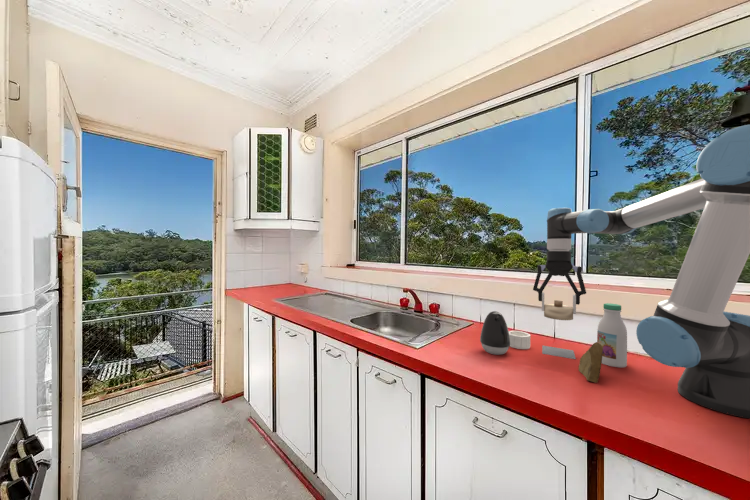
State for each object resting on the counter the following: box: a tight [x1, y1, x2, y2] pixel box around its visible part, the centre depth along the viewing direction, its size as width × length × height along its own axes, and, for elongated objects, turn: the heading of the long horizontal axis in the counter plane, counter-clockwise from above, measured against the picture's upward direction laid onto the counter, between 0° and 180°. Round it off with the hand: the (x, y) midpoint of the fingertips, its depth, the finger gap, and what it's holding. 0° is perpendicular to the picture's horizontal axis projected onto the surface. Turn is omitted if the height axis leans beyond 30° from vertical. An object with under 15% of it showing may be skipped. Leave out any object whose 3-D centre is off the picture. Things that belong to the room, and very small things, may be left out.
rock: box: [578, 341, 603, 384], centre depth 86 cm, size 11×9×10 cm
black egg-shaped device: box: [479, 310, 510, 356], centre depth 104 cm, size 10×10×15 cm
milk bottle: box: [596, 302, 628, 368], centre depth 95 cm, size 8×8×20 cm
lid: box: [543, 300, 574, 321], centre depth 104 cm, size 9×9×6 cm
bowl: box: [508, 330, 531, 350], centre depth 111 cm, size 8×8×5 cm
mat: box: [541, 345, 577, 360], centre depth 104 cm, size 10×10×1 cm
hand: (558, 311), depth 104 cm, fingers closed on lid, 9 cm apart
